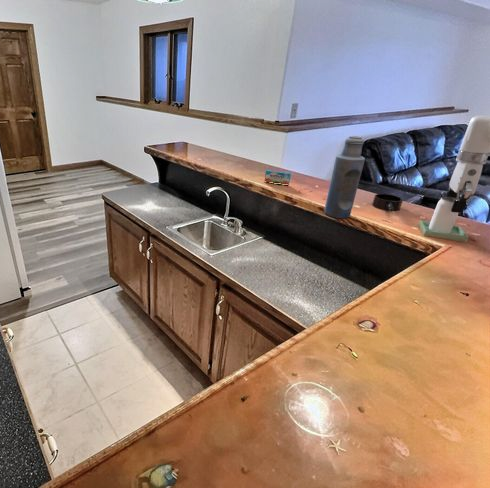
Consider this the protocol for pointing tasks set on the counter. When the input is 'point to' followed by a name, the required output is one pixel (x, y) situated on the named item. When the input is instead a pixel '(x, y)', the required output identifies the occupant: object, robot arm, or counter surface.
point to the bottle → (345, 179)
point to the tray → (455, 233)
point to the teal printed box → (277, 177)
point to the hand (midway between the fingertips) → (452, 207)
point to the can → (443, 216)
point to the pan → (387, 202)
